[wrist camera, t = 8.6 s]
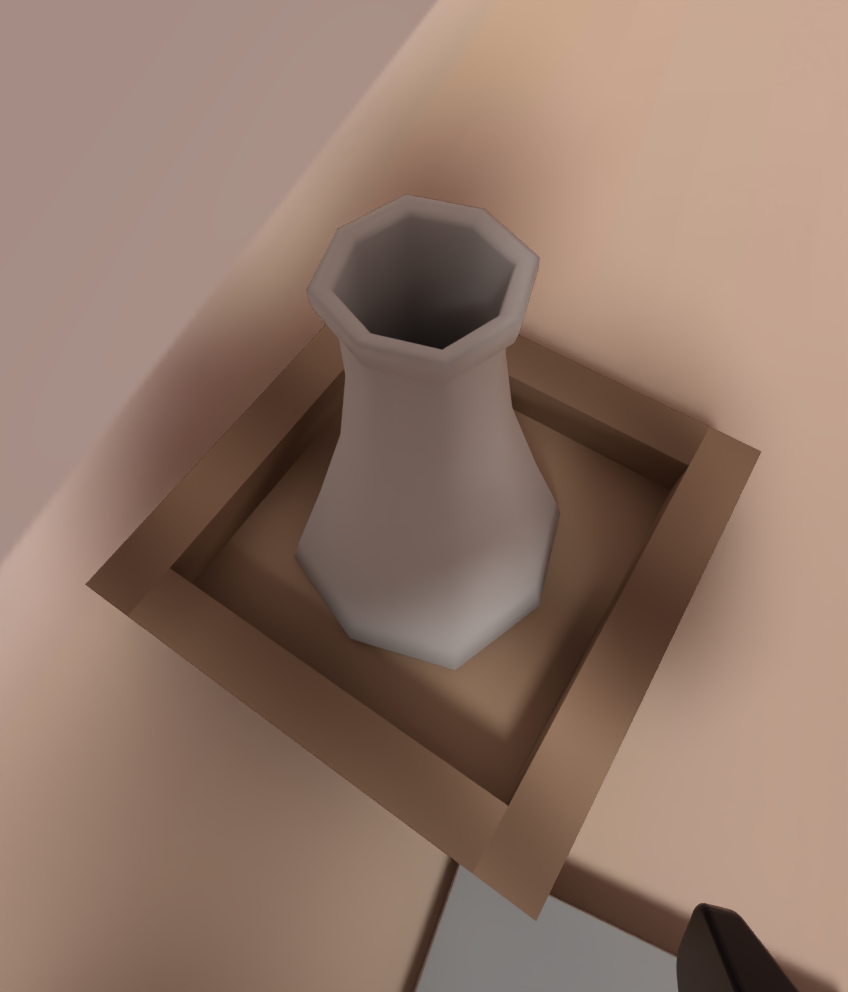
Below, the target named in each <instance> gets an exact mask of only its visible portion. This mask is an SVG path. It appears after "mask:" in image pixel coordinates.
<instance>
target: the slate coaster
mask: <svg viewBox="0 0 848 992" xmlns="http://www.w3.org/2000/svg"><path fill="white" fill-rule="evenodd" d="M676 962H677V956H676V955H674V954H672V953H670V952H668V951H666V950H664V949H662V948H660V947H658V946H656V945H653V944H651V943H649V942H647V941H645V940H643V939H641V938H639V937H637V936H635V935H633V934H631V933H629V932H627V931H625V930H623V929H621V928H619V927H617V926H615V925H612V924H610V923H608V922H606V921H604V920H602V919H600V918H598V917H596V916H594V915H592V914H590V913H588V912H586V911H584V910H582V909H580V908H578V907H576V906H574V905H571V904H569V903H567V902H565V901H563V900H561V899H559V898H557V897H555V896H553V895H551V894H549V896H548V898H547V900H546V902H545V904H544V906H543V908H542V910H541V912H540V915H539V917H538V919H537V921H535V920H534V919H532V918H531V917H530V916H528V915H527V914H526V913H524V912H523V911H522V910H520V909H519V908H518V907H516V906H515V905H514V904H512V903H511V902H510V901H508V900H507V899H506V898H504V897H503V896H502V895H500V894H499V893H498V892H496V891H495V890H494V889H492V888H491V887H490V886H488V885H487V884H486V883H484V882H483V881H482V880H480V879H479V878H478V877H476V876H475V875H473V874H472V873H471V872H469V871H468V870H467V869H465V868H464V867H463V866H461V865H460V864H459V863H458V865H457V868H456V871H455V874H454V877H453V880H452V883H451V885H450V888H449V891H448V894H447V897H446V900H445V903H444V906H443V908H442V911H441V914H440V917H439V920H438V923H437V926H436V929H435V931H434V934H433V937H432V940H431V943H430V946H429V949H428V951H427V954H426V957H425V960H424V963H423V966H422V969H421V972H420V974H419V977H418V980H417V983H416V986H415V989H414V992H678V985H677V974H676Z"/></svg>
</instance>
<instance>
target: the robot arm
mask: <svg viewBox="0 0 848 992" xmlns="http://www.w3.org/2000/svg"><path fill="white" fill-rule="evenodd" d="M676 974H677V985H678V992H800V991H799V990H798V989H797V987H796V986H795V985H794V984H793V982H792V981H791V980H790V978H789V977H788V976H787V975H786V973H785V972H784V971H783V969H782V968H781V967H780V966H779V964H778V963H777V962H776V961H775V959H774V958H773V957H772V955H771V954H770V953H769V952H768V950H767V949H766V948H765V946H764V945H763V944H762V943H761V941H760V940H759V939H758V938H757V936H756V935H755V934H754V932H753V931H752V930H751V929H750V927H749V926H748V925H747V923H746V922H745V921H744V920H743V919H742V917H741V916H740V915H738V914H737V913H736V912H735V911H733V910H730V909H726V908H722V907H718V906H714V905H710V904H706V903H700V904H698V905H697V906H696V907H695V909H694V911H693V913H692V916H691V919H690V921H689V924H688V926H687V929H686V931H685V934H684V937H683V939H682V942H681V944H680V947H679V950H678V954H677V962H676Z"/></svg>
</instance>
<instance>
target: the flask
mask: <svg viewBox="0 0 848 992" xmlns="http://www.w3.org/2000/svg"><path fill="white" fill-rule="evenodd" d="M539 259H540V257H539V256H538V255H537V254H536V253H534V252H533V251H532V250H531V249H530V248H529V247H528V246H526V245H525V244H524V243H523V242H522V241H521V240H519V239H518V238H517V237H516V236H515V235H514V234H513V233H511V232H510V231H509V230H508V229H507V228H506V227H505V226H503V225H502V224H501V223H500V222H499V221H498V220H497V219H495V218H494V217H493V216H492V215H491V214H490V213H489V212H487V211H486V210H485V209H481V208H475V207H470V206H465V205H460V204H455V203H450V202H444V201H439V200H434V199H429V198H424V197H419V196H413V195H408V194H405V195H403V196H401V197H399V198H397V199H395V200H393V201H391V202H389V203H387V204H386V205H384V206H382V207H380V208H378V209H376V210H374V211H372V212H370V213H368V214H366V215H364V216H362V217H360V218H358V219H356V220H354V221H352V222H350V223H348V224H346V225H344V226H342V227H340V228H338V229H337V231H336V233H335V235H334V237H333V239H332V241H331V243H330V245H329V247H328V249H327V251H326V253H325V255H324V257H323V259H322V261H321V263H320V265H319V267H318V268H317V270H316V272H315V274H314V276H313V278H312V280H311V282H310V284H309V286H308V288H307V294H308V300H309V302H310V304H311V306H312V307H313V309H314V311H315V312H316V313H317V315H318V316H319V317H320V318H321V319H322V320H323V321H324V323H325V324H326V325H327V326H328V327H329V328H330V330H331V331H332V332H333V333H334V334H335V335H336V336H337V338H338V339H339V342H340V348H341V354H342V359H343V365H344V370H345V387H344V399H343V410H342V422H341V434H340V437H339V440H338V443H337V445H336V448H335V451H334V454H333V457H332V460H331V463H330V465H329V468H328V471H327V474H326V477H325V480H324V482H323V485H322V488H321V491H320V493H319V496H318V498H317V501H316V503H315V505H314V508H313V510H312V513H311V515H310V517H309V520H308V522H307V524H306V527H305V529H304V532H303V534H302V536H301V539H300V541H299V544H298V547H297V550H296V552H295V555H294V558H295V559H296V560H297V562H298V563H299V565H300V566H301V568H302V569H303V571H304V572H305V574H306V575H307V576H308V578H309V579H310V581H311V582H312V584H313V585H314V587H315V588H316V590H317V591H318V593H319V594H320V595H321V597H322V598H323V600H324V601H325V603H326V604H327V606H328V607H329V609H330V610H331V611H332V613H333V614H334V616H335V617H336V619H337V620H338V622H339V623H340V625H341V626H342V627H343V629H344V630H345V632H346V633H347V635H348V636H349V638H350V639H353V640H356V641H359V642H363V643H366V644H369V645H373V646H376V647H379V648H383V649H386V650H389V651H392V652H396V653H399V654H402V655H406V656H409V657H412V658H416V659H419V660H422V661H426V662H429V663H432V664H435V665H439V666H442V667H445V668H449V669H452V670H456V669H458V668H459V667H460V666H462V665H463V664H464V663H465V662H467V661H468V660H469V659H471V658H472V657H473V656H475V655H476V654H477V653H478V652H480V651H481V650H482V649H484V648H485V647H486V646H488V645H489V644H490V643H491V642H493V641H494V640H495V639H497V638H498V637H499V636H501V635H502V634H503V633H504V632H506V631H507V630H508V629H510V628H511V627H512V626H514V625H515V624H516V623H517V622H519V621H520V620H521V619H523V618H524V617H525V616H527V615H528V614H529V613H531V612H532V611H533V610H534V609H536V608H537V607H538V606H540V601H541V597H542V592H543V588H544V583H545V579H546V575H547V570H548V566H549V561H550V557H551V552H552V548H553V543H554V539H555V534H556V530H557V525H558V521H559V516H560V511H559V508H558V506H557V504H556V501H555V499H554V497H553V495H552V493H551V491H550V490H549V488H548V486H547V484H546V482H545V480H544V478H543V476H542V474H541V472H540V470H539V469H538V467H537V465H536V463H535V460H534V458H533V456H532V453H531V451H530V448H529V446H528V444H527V441H526V439H525V437H524V434H523V432H522V430H521V427H520V425H519V422H518V420H517V418H516V415H515V413H514V411H513V408H512V402H511V393H510V385H509V376H508V368H507V359H506V348H507V347H508V346H510V345H512V344H513V343H514V342H515V340H516V338H517V336H518V335H519V332H520V329H521V326H522V322H523V319H524V315H525V312H526V309H527V305H528V302H529V299H530V295H531V292H532V289H533V285H534V282H535V278H536V275H537V272H538V267H539Z"/></svg>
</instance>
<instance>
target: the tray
mask: <svg viewBox="0 0 848 992" xmlns="http://www.w3.org/2000/svg"><path fill="white" fill-rule="evenodd" d="M506 359H507V368H508V376H509V385H510V393H511V402H512V408H513V411H514V413H515V415H516V418H517V420H518V422H519V425H520V427H521V430H522V432H523V434H524V437H525V439H526V441H527V444H528V446H529V448H530V451H531V453H532V456H533V458H534V460H535V463H536V465H537V467H538V469H539V470H540V472H541V474H542V476H543V478H544V480H545V482H546V484H547V486H548V488H549V490H550V491H551V493H552V495H553V497H554V499H555V501H556V504H557V506H558V508H559V511H560V516H559V521H558V525H557V530H556V534H555V539H554V543H553V548H552V552H551V557H550V561H549V566H548V570H547V575H546V579H545V583H544V588H543V592H542V597H541V601H540V606H538V607H537V608H536V609H534V610H533V611H532V612H531V613H529V614H528V615H527V616H525V617H524V618H523V619H521V620H520V621H519V622H517V623H516V624H515V625H514V626H512V627H511V628H510V629H508V630H507V631H506V632H504V633H503V634H502V635H501V636H499V637H498V638H497V639H495V640H494V641H493V642H491V643H490V644H489V645H488V646H486V647H485V648H484V649H482V650H481V651H480V652H478V653H477V654H476V655H475V656H473V657H472V658H471V659H469V660H468V661H467V662H465V663H464V664H463V665H462V666H460V667H459V668H458V669H456V670H452V669H449V668H445V667H442V666H439V665H435V664H432V663H429V662H426V661H422V660H419V659H416V658H412V657H409V656H406V655H402V654H399V653H396V652H392V651H389V650H386V649H383V648H379V647H376V646H373V645H369V644H366V643H363V642H359V641H356V640H353V639H350V638H349V636H348V635H347V633H346V632H345V630H344V629H343V627H342V626H341V625H340V623H339V622H338V620H337V619H336V617H335V616H334V614H333V613H332V611H331V610H330V609H329V607H328V606H327V604H326V603H325V601H324V600H323V598H322V597H321V595H320V594H319V593H318V591H317V590H316V588H315V587H314V585H313V584H312V582H311V581H310V579H309V578H308V576H307V575H306V574H305V572H304V571H303V569H302V568H301V566H300V565H299V563H298V562H297V560H296V559H295V558H294V555H295V552H296V550H297V547H298V544H299V541H300V539H301V536H302V534H303V532H304V529H305V527H306V524H307V522H308V520H309V517H310V515H311V513H312V510H313V508H314V505H315V503H316V501H317V498H318V496H319V493H320V491H321V488H322V485H323V482H324V480H325V477H326V474H327V471H328V468H329V465H330V463H331V460H332V457H333V454H334V451H335V448H336V445H337V443H338V440H339V437H340V434H341V422H342V410H343V399H344V387H345V370H344V365H343V359H342V354H341V348H340V342H339V339H338V338H337V336H336V335H335V334H334V333H333V332H332V331H331V330H330V328H329V327H328V326H327V325H325V326H324V327H323V328H322V329H321V330H320V332H319V333H318V334H317V335H316V336H315V337H314V338H313V339H312V340H311V341H310V342H309V343H308V345H307V346H306V347H305V348H304V349H303V350H302V351H301V352H300V353H299V354H298V355H297V356H296V357H295V359H294V360H293V361H292V362H291V363H290V364H289V365H288V366H287V367H286V368H285V369H284V370H283V372H282V373H281V374H280V375H279V376H278V377H277V378H276V379H275V380H274V381H273V382H272V383H271V384H270V386H269V387H268V388H267V389H266V390H265V391H264V392H263V393H262V394H261V395H260V396H259V397H258V399H257V400H256V401H255V402H254V403H253V404H252V405H251V406H250V407H249V408H248V409H247V410H246V411H245V413H244V414H243V415H242V416H241V417H240V418H239V419H238V420H237V421H236V422H235V423H234V424H233V426H232V427H231V428H230V429H229V430H228V431H227V432H226V433H225V434H224V435H223V436H222V437H221V438H220V440H219V441H218V442H217V443H216V444H215V445H214V446H213V447H212V448H211V449H210V450H209V451H208V453H207V454H206V455H205V456H204V457H203V458H202V459H201V460H200V461H199V462H198V463H197V464H196V466H195V467H194V468H193V469H192V470H191V471H190V472H189V473H188V474H187V475H186V476H185V477H184V478H183V480H182V481H181V482H180V483H179V484H178V485H177V486H176V487H175V488H174V489H173V490H172V491H171V493H170V494H169V495H168V496H167V497H166V498H165V499H164V500H163V501H162V502H161V503H160V504H159V505H158V507H157V508H156V509H155V510H154V511H153V512H152V513H151V514H150V515H149V516H148V517H147V518H146V520H145V521H144V522H143V523H142V524H141V525H140V526H139V527H138V528H137V529H136V530H135V531H134V532H133V534H132V535H131V536H130V537H129V538H128V539H127V540H126V541H125V542H124V543H123V544H122V545H121V547H120V548H119V549H118V550H117V551H116V552H115V553H114V554H113V555H112V556H111V557H110V558H109V559H108V561H107V562H106V563H105V564H104V565H103V566H102V567H101V568H100V569H99V570H98V571H97V572H96V574H95V575H94V576H93V577H92V578H91V579H90V580H89V581H88V582H87V583H86V584H85V585H87V586H88V587H89V588H91V589H92V590H93V591H95V592H96V593H97V594H99V595H100V596H101V597H103V598H104V599H105V600H107V601H108V602H109V603H111V604H112V605H113V606H115V607H116V608H117V609H119V610H120V611H121V612H123V613H124V614H125V615H127V616H128V617H129V618H131V619H132V620H134V621H135V622H136V623H138V624H139V625H140V626H142V627H143V628H144V629H146V630H147V631H148V632H150V633H151V634H152V635H154V636H155V637H156V638H158V639H159V640H160V641H162V642H163V643H164V644H166V645H167V646H168V647H170V648H171V649H172V650H174V651H175V652H176V653H178V654H179V655H180V656H182V657H183V658H184V659H186V660H187V661H188V662H190V663H191V664H192V665H194V666H195V667H196V668H198V669H199V670H200V671H202V672H203V673H204V674H206V675H207V676H208V677H210V678H211V679H212V680H214V681H215V682H216V683H218V684H219V685H221V686H222V687H223V688H225V689H226V690H227V691H229V692H230V693H231V694H233V695H234V696H235V697H237V698H238V699H239V700H241V701H242V702H243V703H245V704H246V705H247V706H249V707H250V708H251V709H253V710H254V711H255V712H257V713H258V714H259V715H261V716H262V717H263V718H265V719H266V720H267V721H269V722H270V723H271V724H273V725H274V726H275V727H277V728H278V729H279V730H281V731H282V732H283V733H285V734H286V735H287V736H289V737H290V738H291V739H293V740H294V741H295V742H297V743H298V744H299V745H301V746H302V747H303V748H305V749H306V750H308V751H309V752H310V753H312V754H313V755H314V756H316V757H317V758H318V759H320V760H321V761H322V762H324V763H325V764H326V765H328V766H329V767H330V768H332V769H333V770H334V771H336V772H337V773H338V774H340V775H341V776H342V777H344V778H345V779H346V780H348V781H349V782H350V783H352V784H353V785H354V786H356V787H357V788H358V789H360V790H361V791H362V792H364V793H365V794H366V795H368V796H369V797H370V798H372V799H373V800H374V801H376V802H377V803H378V804H380V805H381V806H382V807H384V808H385V809H386V810H388V811H389V812H390V813H392V814H393V815H395V816H396V817H397V818H399V819H400V820H401V821H403V822H404V823H405V824H407V825H408V826H409V827H411V828H412V829H413V830H415V831H416V832H417V833H419V834H420V835H421V836H423V837H424V838H425V839H427V840H428V841H429V842H431V843H432V844H433V845H435V846H436V847H437V848H439V849H440V850H441V851H443V852H444V853H445V854H447V855H448V856H449V857H451V858H452V859H453V860H455V861H456V862H457V863H459V864H460V865H461V866H463V867H464V868H465V869H467V870H468V871H469V872H471V873H472V874H473V875H475V876H476V877H478V878H479V879H480V880H482V881H483V882H484V883H486V884H487V885H488V886H490V887H491V888H492V889H494V890H495V891H496V892H498V893H499V894H500V895H502V896H503V897H504V898H506V899H507V900H508V901H510V902H511V903H512V904H514V905H515V906H516V907H518V908H519V909H520V910H522V911H523V912H524V913H526V914H527V915H528V916H530V917H531V918H532V919H534V920H535V921H537V919H538V917H539V915H540V912H541V910H542V908H543V906H544V904H545V902H546V900H547V898H548V896H549V894H550V892H551V889H552V887H553V885H554V883H555V881H556V879H557V877H558V875H559V873H560V871H561V869H562V867H563V864H564V862H565V860H566V858H567V856H568V854H569V852H570V850H571V848H572V846H573V844H574V841H575V839H576V837H577V835H578V833H579V831H580V829H581V827H582V825H583V823H584V821H585V819H586V816H587V814H588V812H589V810H590V808H591V806H592V804H593V802H594V800H595V798H596V796H597V793H598V791H599V789H600V787H601V785H602V783H603V781H604V779H605V777H606V775H607V773H608V770H609V768H610V766H611V764H612V762H613V760H614V758H615V756H616V754H617V752H618V750H619V748H620V745H621V743H622V741H623V739H624V737H625V735H626V733H627V731H628V729H629V727H630V725H631V722H632V720H633V718H634V716H635V714H636V712H637V710H638V708H639V706H640V704H641V702H642V700H643V697H644V695H645V693H646V691H647V689H648V687H649V685H650V683H651V681H652V679H653V677H654V674H655V672H656V670H657V668H658V666H659V664H660V662H661V660H662V658H663V656H664V654H665V652H666V649H667V647H668V645H669V643H670V641H671V639H672V637H673V635H674V633H675V631H676V629H677V626H678V624H679V622H680V620H681V618H682V616H683V614H684V612H685V610H686V608H687V606H688V604H689V601H690V599H691V597H692V595H693V593H694V591H695V589H696V587H697V585H698V583H699V581H700V578H701V576H702V574H703V572H704V570H705V568H706V566H707V564H708V562H709V560H710V558H711V555H712V553H713V551H714V549H715V547H716V545H717V543H718V541H719V539H720V537H721V535H722V533H723V530H724V528H725V526H726V524H727V522H728V520H729V518H730V516H731V514H732V512H733V510H734V507H735V505H736V503H737V501H738V499H739V497H740V495H741V493H742V491H743V489H744V487H745V485H746V482H747V480H748V478H749V476H750V474H751V472H752V470H753V468H754V466H755V464H756V462H757V459H758V457H759V455H760V453H761V451H759V450H757V449H755V448H753V447H751V446H749V445H747V444H745V443H742V442H740V441H738V440H736V439H734V438H732V437H730V436H728V435H726V434H724V433H722V432H720V431H717V430H715V429H713V428H711V427H709V426H707V425H705V424H703V423H701V422H699V421H697V420H695V419H692V418H690V417H688V416H686V415H684V414H682V413H680V412H678V411H676V410H674V409H672V408H670V407H667V406H665V405H663V404H661V403H659V402H657V401H655V400H653V399H651V398H649V397H647V396H645V395H642V394H640V393H638V392H636V391H634V390H632V389H630V388H628V387H626V386H624V385H622V384H620V383H617V382H615V381H613V380H611V379H609V378H607V377H605V376H603V375H601V374H599V373H597V372H595V371H592V370H590V369H588V368H586V367H584V366H582V365H580V364H578V363H576V362H574V361H572V360H570V359H567V358H565V357H563V356H561V355H559V354H557V353H555V352H553V351H551V350H549V349H547V348H545V347H542V346H540V345H538V344H536V343H534V342H532V341H530V340H528V339H526V338H524V337H522V336H520V335H518V336H517V338H516V340H515V342H514V343H513V344H512V345H510V346H508V347H507V348H506Z"/></svg>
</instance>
